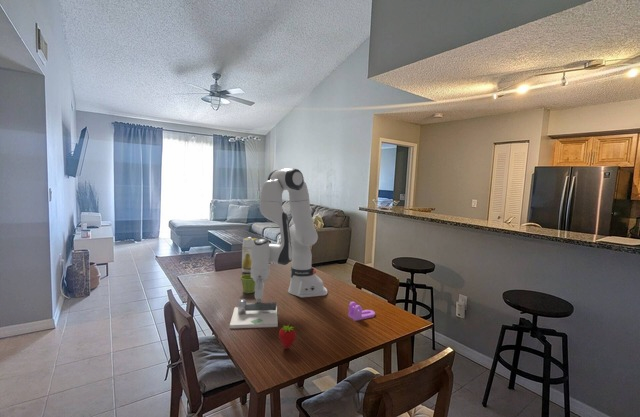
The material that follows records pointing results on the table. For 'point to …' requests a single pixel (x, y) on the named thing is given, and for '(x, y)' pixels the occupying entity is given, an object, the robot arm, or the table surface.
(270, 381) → the table surface
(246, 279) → the plant pot
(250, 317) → the dial board
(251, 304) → the grey lever handle
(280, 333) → the strawberry
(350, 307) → the bracket
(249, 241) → the juice carton
